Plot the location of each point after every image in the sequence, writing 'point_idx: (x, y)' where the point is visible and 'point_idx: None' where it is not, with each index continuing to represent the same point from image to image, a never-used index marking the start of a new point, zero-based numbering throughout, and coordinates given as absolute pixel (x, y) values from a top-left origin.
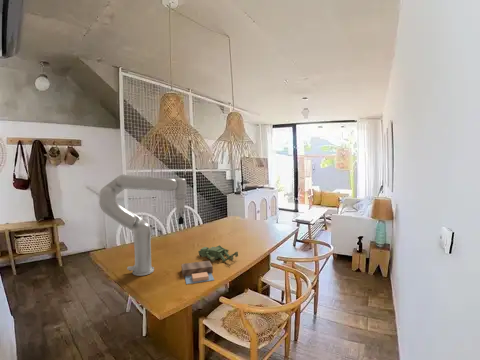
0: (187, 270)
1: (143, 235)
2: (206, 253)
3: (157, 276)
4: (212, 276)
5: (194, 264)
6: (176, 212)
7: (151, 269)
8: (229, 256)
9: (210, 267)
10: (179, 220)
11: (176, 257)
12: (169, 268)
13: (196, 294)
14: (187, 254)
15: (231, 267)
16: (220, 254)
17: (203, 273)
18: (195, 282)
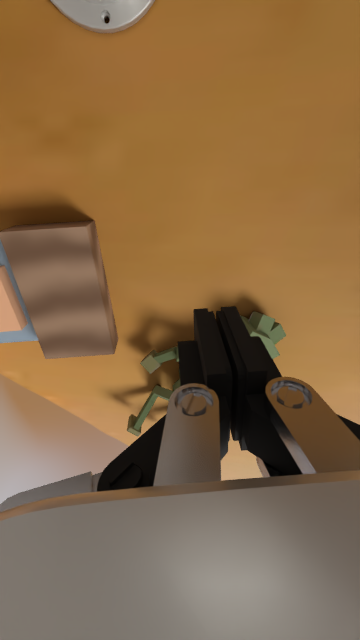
0: (9, 254)
1: None
2: (177, 353)
3: (16, 70)
4: (15, 340)
5: (73, 291)
6: (248, 562)
7: (92, 6)
8: (139, 420)
9: (44, 349)
10: (200, 361)
11: (280, 192)
12: (126, 149)
13: None
14: (299, 255)
15: (99, 401)
16: (166, 397)
17: (5, 317)
18: None
